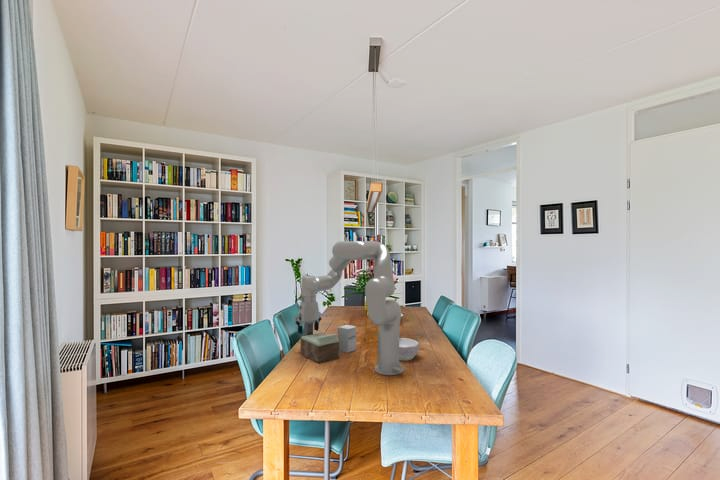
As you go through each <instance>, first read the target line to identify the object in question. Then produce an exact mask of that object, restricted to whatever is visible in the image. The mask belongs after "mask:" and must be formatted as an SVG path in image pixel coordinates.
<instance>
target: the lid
mask: <svg viewBox="0 0 720 480" xmlns="http://www.w3.org/2000/svg"><path fill="white" fill-rule="evenodd" d="M301 339H303V340H305V341H308V342H310V343H312V344H314V345H317V346H322V345H326V344H331V343H335V342H339V339H338V333H331V334H327V333H323V332H318V333H313V334H312V335H307V336H303V335H300V340H301Z"/></svg>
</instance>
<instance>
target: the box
mask: <svg viewBox="0 0 720 480" xmlns="http://www.w3.org/2000/svg"><path fill="white" fill-rule="evenodd" d="M302 336H304V334H303V335H302ZM300 353H301V356H302V357H304V358H306V359H308V360H310V361H312V362H314V363H316V364H318V365H319V364H323V363H327V362H331V361H335V360H339V358H340V351H339V342H335V343H331V344H326V345H322V346H317V345H314V344H312V343H310V342H308V341H305V340H303V339H301V338H300Z"/></svg>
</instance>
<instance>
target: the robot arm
mask: <svg viewBox="0 0 720 480" xmlns="http://www.w3.org/2000/svg"><path fill="white" fill-rule="evenodd" d="M331 249H332V251H331V252H332V257H330V259H329V261H328V265H329V266H330V267H329V268H331V269H330V271H329V272H327V274H326V275H321V276H314V275H304V276H302V277H301V297H300V298H299V301H301V302H300V304H299V309H298V314H296V315H295V316H294V317H293V318H292V319H293V321H294V324H295V325H296V326H297V332H298V334H303V325H304V323H306V322H313V331H314V330H315V331H316V332H317V331H319V329H320V328H319V325H320V322H321V320H323V319H322V318H323V316H324V313H321V312H319V311H320V309H319V304H318V303H319V302H318V300H317V293H318V292H323V291H329V290H331V289H333V288H334V287H335V286H336V285H337V284H338V282H340V280H341V279H342V277H343V271H344V270H345V269H346V268H347V267H348V266H349V264H351V262H353V261H365V260H373V265H372V267H373V268H372V269H373V276H374V277H373V278H370V279H369V280H367V282H366V285H365V287H364V295H365V302H366V310H367V314H368V318H369V320H370V321H371V323H372V324H373V325H375V326H378V329H377V330H378V332H377V364H376V365H374V372H375V373H377V374H378V375H383V376H397V375H399V374H402V373H403V372H404V370H406V369H405V368H406V367H404V366H402V364H401V363H402V361H401V360H399V338H400V324H401V318H402V308H401V305H400V304H399V303H398V301H396V300H395V299H386V298H389V297H391V296H392V295H394V293H395V291H396V285H395V279H394V274H393V267H392V258H391V253H390V251H389V248H388V247H387V245H385V244H383V243H382V242H379V241H373V240H359V241H358V240H356V241H354V240H353V241H351V240H340V241H337V242H336V243H334V245H333V246H332V248H331Z"/></svg>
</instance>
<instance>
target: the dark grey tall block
mask: <svg viewBox="0 0 720 480" xmlns="http://www.w3.org/2000/svg"><path fill="white" fill-rule="evenodd" d="M303 330H304V331H303V333H304V334H303V335H304V336H307V335H312V334H314V322H313V321H310V322H303Z"/></svg>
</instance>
